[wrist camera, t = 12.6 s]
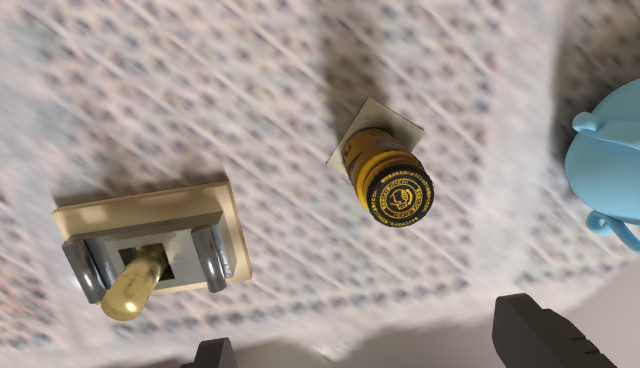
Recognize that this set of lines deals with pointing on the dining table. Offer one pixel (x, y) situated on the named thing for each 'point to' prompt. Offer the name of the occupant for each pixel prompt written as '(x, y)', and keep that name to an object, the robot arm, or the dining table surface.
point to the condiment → (385, 166)
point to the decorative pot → (609, 163)
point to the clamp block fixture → (157, 238)
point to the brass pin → (135, 283)
